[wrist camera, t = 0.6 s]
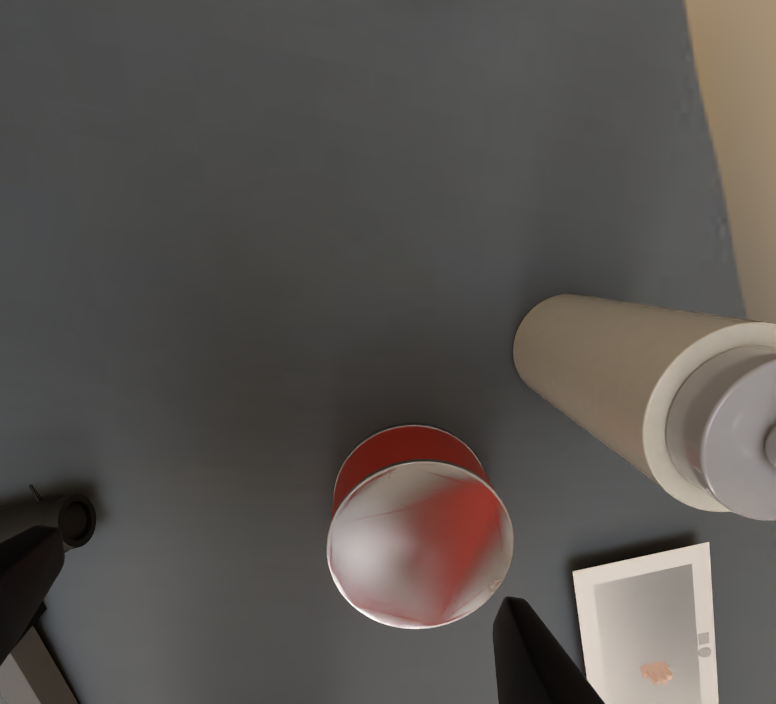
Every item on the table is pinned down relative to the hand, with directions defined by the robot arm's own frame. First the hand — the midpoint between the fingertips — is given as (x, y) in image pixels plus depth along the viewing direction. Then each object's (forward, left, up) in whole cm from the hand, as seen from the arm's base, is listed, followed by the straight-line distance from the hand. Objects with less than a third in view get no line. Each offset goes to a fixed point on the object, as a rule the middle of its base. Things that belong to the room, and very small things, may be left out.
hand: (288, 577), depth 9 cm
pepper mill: (+3, -12, -14) cm, 19 cm away
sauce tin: (-6, -4, -14) cm, 16 cm away
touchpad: (-16, -19, -14) cm, 29 cm away
